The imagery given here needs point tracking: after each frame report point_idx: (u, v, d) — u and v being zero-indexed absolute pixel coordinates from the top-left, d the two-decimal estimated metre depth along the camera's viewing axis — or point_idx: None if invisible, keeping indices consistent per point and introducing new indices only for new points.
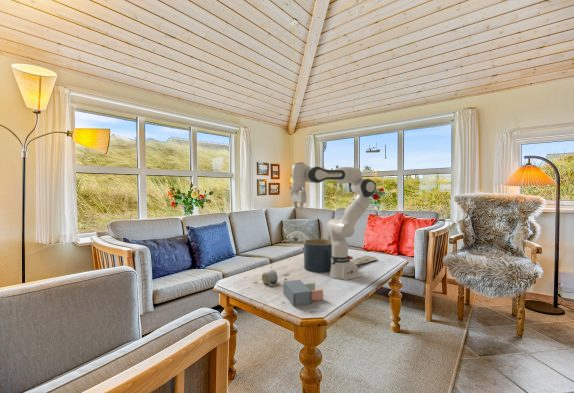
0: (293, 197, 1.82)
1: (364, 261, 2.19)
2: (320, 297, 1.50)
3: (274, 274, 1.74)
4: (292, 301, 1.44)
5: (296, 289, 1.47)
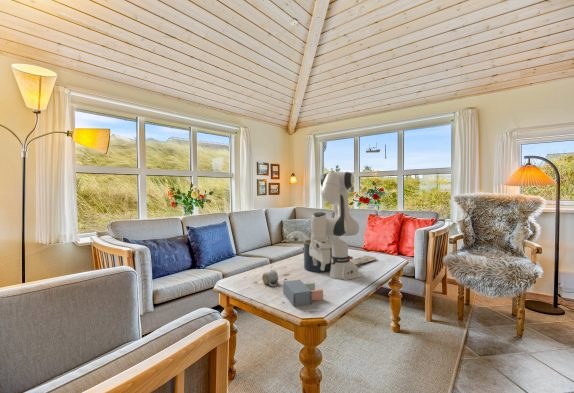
0: None
1: (363, 261, 2.19)
2: (320, 297, 1.50)
3: (274, 275, 1.74)
4: (292, 301, 1.44)
5: (296, 289, 1.47)
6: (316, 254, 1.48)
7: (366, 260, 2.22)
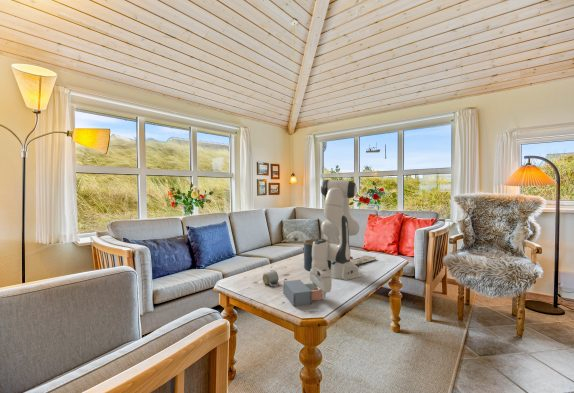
0: None
1: (363, 261, 2.19)
2: (320, 297, 1.50)
3: (275, 275, 1.73)
4: (292, 301, 1.44)
5: (296, 289, 1.47)
6: (317, 281, 1.48)
7: (366, 260, 2.22)
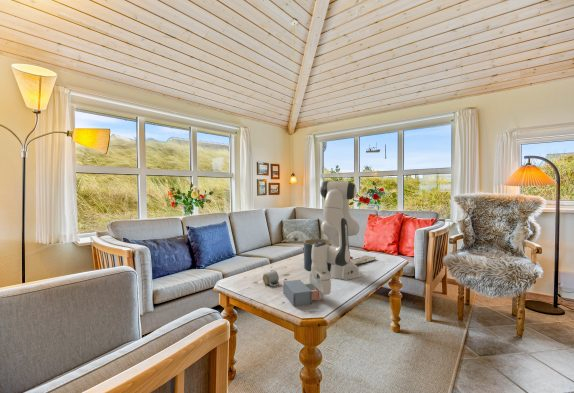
0: None
1: (362, 261, 2.20)
2: None
3: (275, 275, 1.73)
4: (292, 301, 1.44)
5: (296, 289, 1.47)
6: (316, 283, 1.49)
7: (365, 260, 2.22)
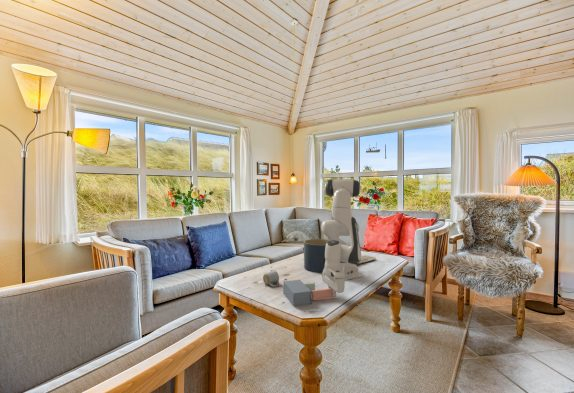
0: None
1: (362, 261, 2.20)
2: None
3: (275, 275, 1.73)
4: (292, 301, 1.44)
5: (296, 289, 1.47)
6: (330, 282, 1.51)
7: (365, 260, 2.22)
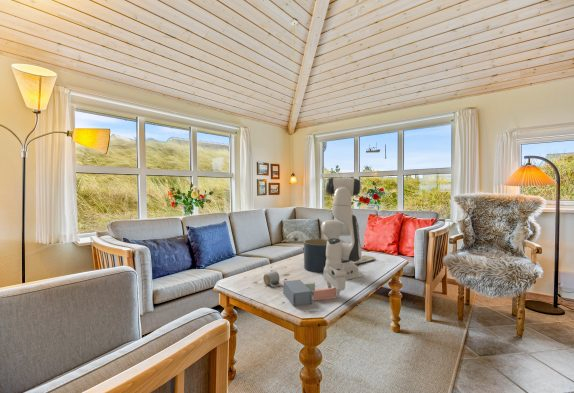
0: None
1: (362, 261, 2.20)
2: (335, 295, 1.53)
3: (276, 275, 1.73)
4: (292, 301, 1.44)
5: (296, 289, 1.47)
6: (331, 279, 1.52)
7: (364, 260, 2.23)
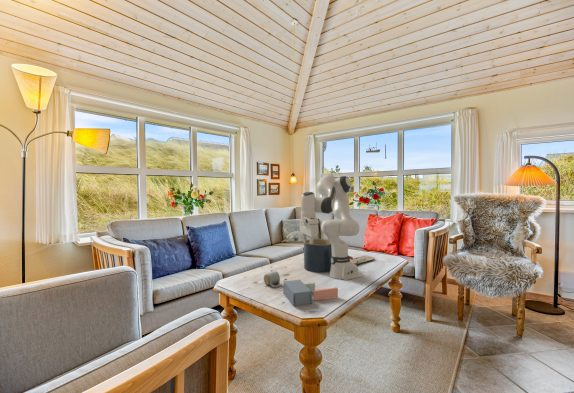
0: None
1: (361, 260, 2.20)
2: (335, 295, 1.53)
3: (276, 275, 1.72)
4: (292, 301, 1.44)
5: (296, 289, 1.47)
6: (305, 229, 1.64)
7: (364, 260, 2.23)
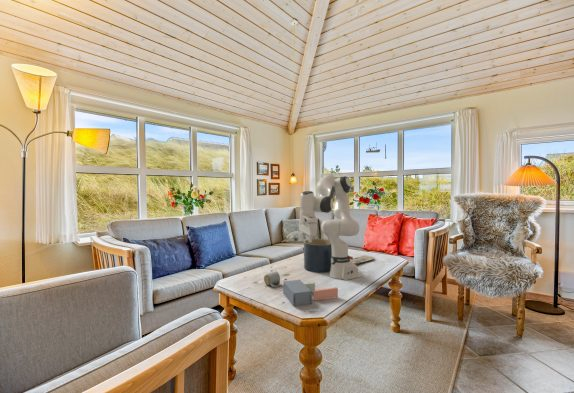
0: None
1: (361, 260, 2.20)
2: (335, 295, 1.53)
3: (276, 276, 1.72)
4: (292, 301, 1.44)
5: (296, 289, 1.47)
6: (304, 228, 1.65)
7: (364, 260, 2.23)
